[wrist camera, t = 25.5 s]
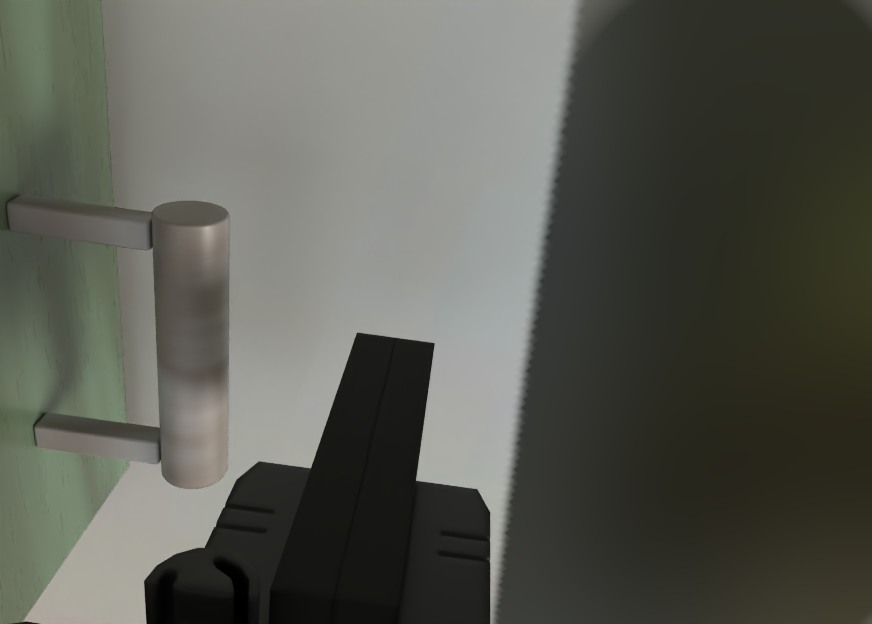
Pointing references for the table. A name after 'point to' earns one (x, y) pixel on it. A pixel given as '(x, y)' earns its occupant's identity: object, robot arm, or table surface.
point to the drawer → (89, 305)
